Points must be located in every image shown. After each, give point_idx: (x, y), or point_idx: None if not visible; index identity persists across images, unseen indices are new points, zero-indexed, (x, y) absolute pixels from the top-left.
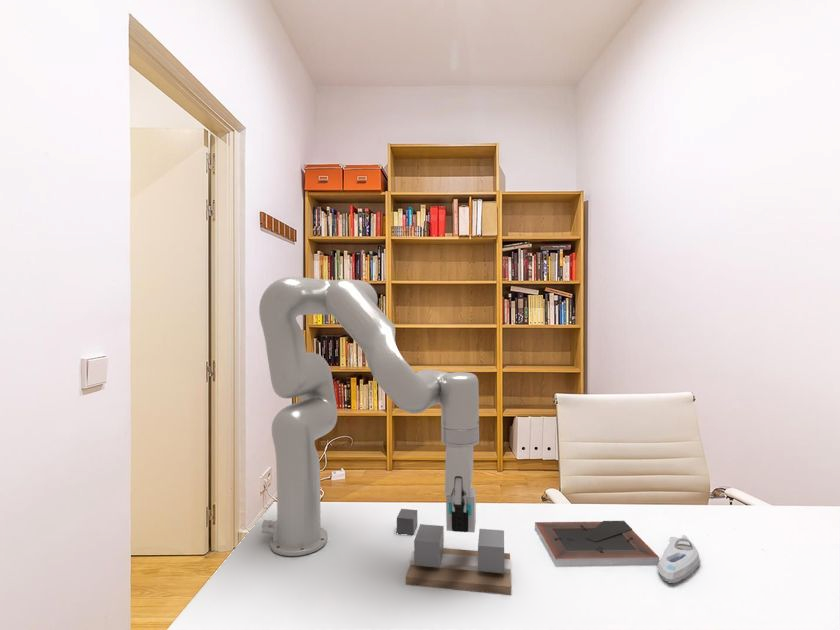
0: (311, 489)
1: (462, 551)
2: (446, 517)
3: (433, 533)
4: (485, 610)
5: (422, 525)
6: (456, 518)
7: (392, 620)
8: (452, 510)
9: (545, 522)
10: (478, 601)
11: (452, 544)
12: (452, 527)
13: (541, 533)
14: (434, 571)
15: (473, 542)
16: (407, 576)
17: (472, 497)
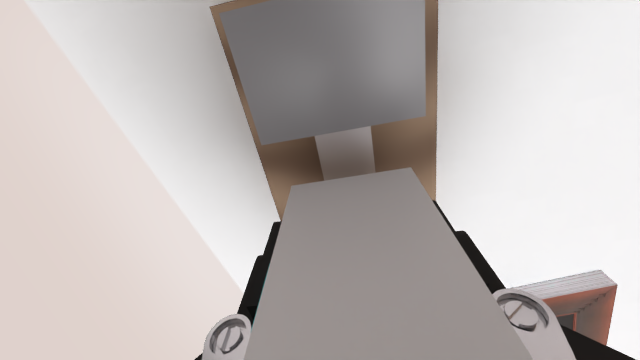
0: None
1: (423, 144)
2: (281, 227)
3: (330, 92)
4: (229, 225)
5: None
6: (246, 298)
7: (66, 45)
8: (209, 335)
9: (611, 302)
10: (249, 209)
11: (505, 81)
12: (273, 232)
13: (545, 298)
14: None
15: (522, 143)
16: (215, 12)
17: None
